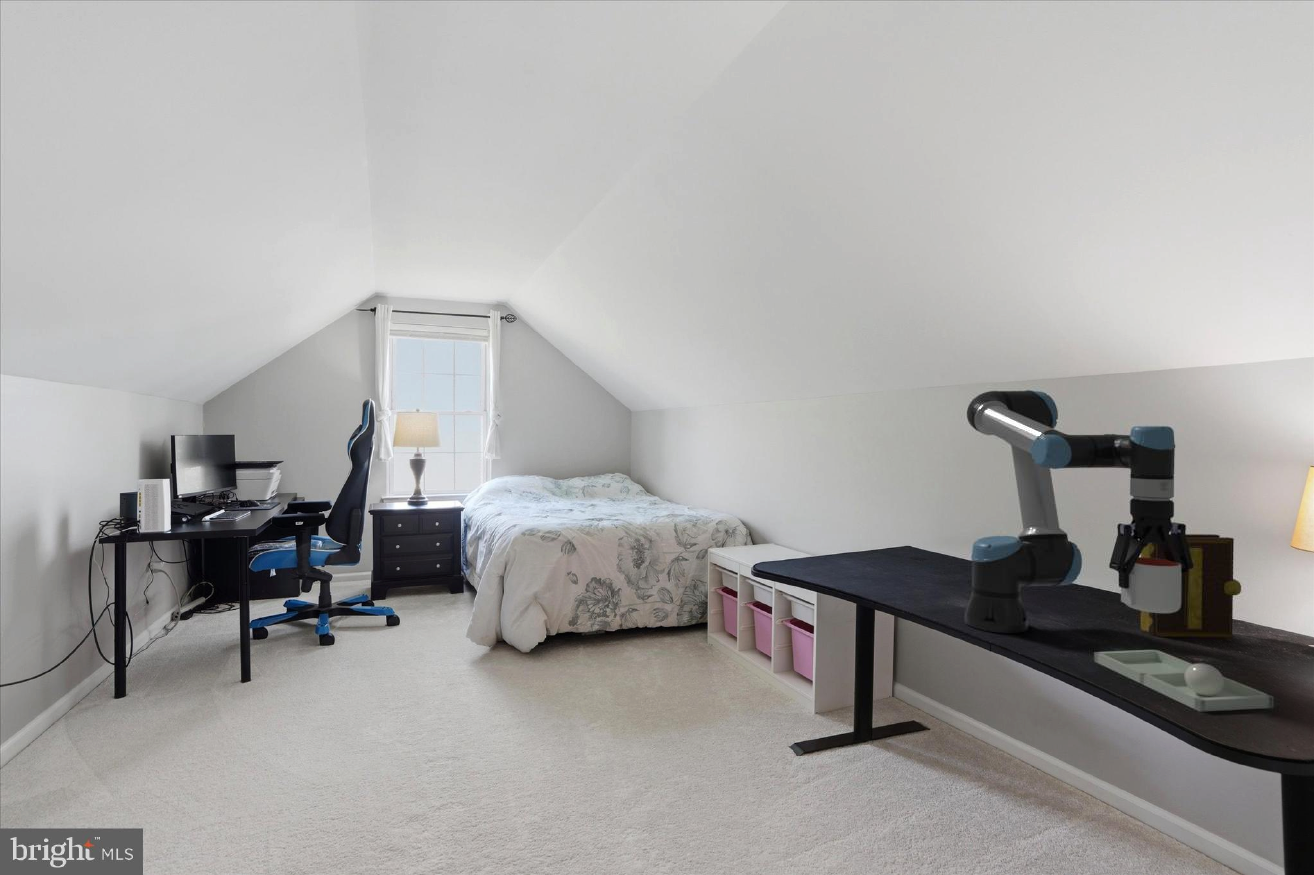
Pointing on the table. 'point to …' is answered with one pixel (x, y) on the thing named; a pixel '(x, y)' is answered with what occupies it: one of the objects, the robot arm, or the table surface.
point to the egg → (1204, 679)
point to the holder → (1180, 681)
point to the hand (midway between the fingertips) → (1150, 602)
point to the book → (1199, 591)
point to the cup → (1157, 585)
